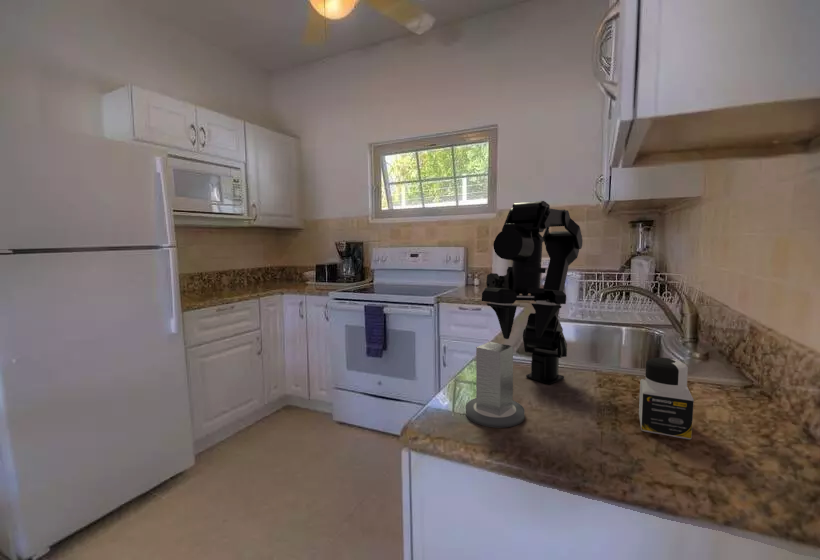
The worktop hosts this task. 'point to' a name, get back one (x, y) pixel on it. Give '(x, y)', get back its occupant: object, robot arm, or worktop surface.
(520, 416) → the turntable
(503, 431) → the worktop surface
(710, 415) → the worktop surface
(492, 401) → the block
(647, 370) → the medicine bottle
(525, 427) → the worktop surface
